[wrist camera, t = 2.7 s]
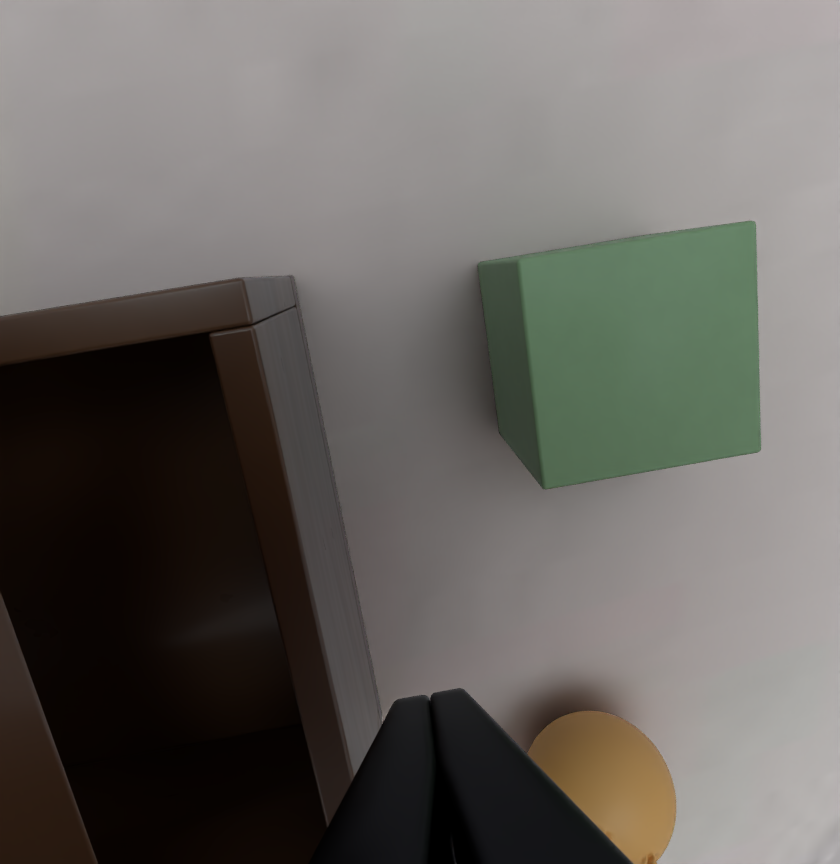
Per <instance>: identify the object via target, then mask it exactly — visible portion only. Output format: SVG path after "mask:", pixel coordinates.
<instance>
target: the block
mask: <svg viewBox="0 0 840 864" xmlns="http://www.w3.org/2000/svg"><path fill="white" fill-rule="evenodd" d="M478 272H479V280H480V288H481V295H482V303H483V311H484V318H485V326H486V334H487V342H488V349H489V357H490V365H491V372H492V380H493V388H494V395H495V403H496V411H497V419H498V426H499V433H500V435H501V436H502V437H503V439H504V440H505V441H506V443H507V444H508V445H509V446H510V448H511V449H512V450H513V451H514V453H515V454H516V455H517V457H518V458H519V459H520V460H521V462H522V463H523V464H524V465H525V467H526V468H527V469H528V470H529V472H530V473H531V474H532V476H533V477H534V478H535V479H536V481H537V482H538V483H539V484H540V486H541V487H542V488H543V489H551V488H557V487H563V486H569V485H574V484H580V483H586V482H591V481H597V480H603V479H609V478H614V477H620V476H626V475H631V474H637V473H643V472H649V471H654V470H660V469H666V468H671V467H677V466H683V465H689V464H694V463H700V462H706V461H711V460H717V459H723V458H729V457H734V456H740V455H746V454H751V453H757V452H759V451H760V450H761V432H760V387H759V342H758V297H757V252H756V224H755V222H753V221H745V222H738V223H730V224H723V225H715V226H708V227H701V228H693V229H686V230H678V231H671V232H664V233H656V234H649V235H643V236H637V237H631V238H625V239H618V240H612V241H606V242H600V243H594V244H588V245H582V246H575V247H569V248H563V249H557V250H551V251H545V252H539V253H533V254H526V255H520V256H514V257H508V258H502V259H496V260H490V261H483V262H480V263H478Z"/></svg>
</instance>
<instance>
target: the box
mask: <svg viewBox="0 0 840 864" xmlns="http://www.w3.org/2000/svg"><path fill="white" fill-rule="evenodd" d="M0 592H1V595H2V598H3V600H4V603H5V606H6V609H7V612H8V614H9V617H10V620H11V623H12V625H13V628H14V631H15V634H16V637H17V639H18V642H19V645H20V648H21V651H22V653H23V656H24V659H25V662H26V664H27V667H28V670H29V673H30V676H31V678H32V681H33V684H34V687H35V690H36V692H37V695H38V698H39V701H40V703H41V706H42V709H43V712H44V715H45V717H46V720H47V723H48V726H49V729H50V731H51V734H52V737H53V740H54V742H55V745H56V748H57V751H58V754H59V756H60V759H61V762H62V765H63V768H64V770H65V773H66V776H67V779H68V781H69V784H70V787H71V790H72V793H73V795H74V798H75V801H76V804H77V807H78V809H79V812H80V815H81V818H82V820H83V823H84V826H85V829H86V832H87V834H88V837H89V840H90V843H91V846H92V848H93V851H94V854H95V857H96V859H97V862H98V864H308V863H309V861H310V859H311V858H312V856H313V854H314V852H315V850H316V848H317V846H318V844H319V842H320V841H321V839H322V837H323V835H324V833H325V831H326V829H327V827H328V825H329V824H330V822H331V820H332V818H333V816H334V814H335V812H336V810H337V808H338V807H339V805H340V803H341V801H342V799H343V797H344V795H345V793H346V791H347V790H348V788H349V786H350V784H351V782H352V780H353V778H354V776H355V774H356V773H357V771H358V769H359V767H360V765H361V763H362V761H363V759H364V758H365V756H366V754H367V752H368V750H369V748H370V746H371V744H372V742H373V741H374V739H375V737H376V735H377V733H378V731H379V729H380V727H381V725H382V712H381V707H380V702H379V697H378V692H377V687H376V682H375V677H374V672H373V667H372V662H371V657H370V652H369V647H368V642H367V637H366V632H365V627H364V622H363V617H362V612H361V607H360V602H359V597H358V592H357V588H356V583H355V578H354V573H353V568H352V563H351V558H350V553H349V548H348V543H347V538H346V533H345V528H344V523H343V518H342V513H341V508H340V503H339V498H338V493H337V488H336V483H335V478H334V473H333V468H332V464H331V459H330V454H329V449H328V444H327V439H326V434H325V429H324V424H323V419H322V414H321V409H320V404H319V399H318V394H317V389H316V384H315V379H314V374H313V369H312V364H311V359H310V354H309V349H308V344H307V340H306V335H305V330H304V325H303V320H302V315H301V310H300V305H299V300H298V295H297V290H296V285H295V280H294V276H292V275H288V276H265V277H242V278H234V279H228V280H222V281H215V282H209V283H203V284H197V285H191V286H184V287H178V288H172V289H166V290H160V291H153V292H147V293H141V294H135V295H129V296H123V297H116V298H110V299H104V300H98V301H92V302H85V303H79V304H73V305H67V306H61V307H55V308H48V309H42V310H36V311H30V312H24V313H17V314H11V315H5V316H0Z"/></svg>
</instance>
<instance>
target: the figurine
mask: <svg viewBox="0 0 840 864" xmlns="http://www.w3.org/2000/svg"><path fill="white" fill-rule="evenodd" d="M528 755H529V757H530V758H531V759H532V760H533V761H534V762H535V763H536V764H537V765H538V766H539V767H540V768H541V769H542V770H543V771H544V772H545V773H546V774H547V775H548V776H549V777H550V778H551V779H552V780H553V781H554V782H555V783H556V784H557V785H558V786H559V787H560V788H561V789H562V790H563V791H564V793H565V794H566V795H567V796H568V797H569V798H570V799H571V800H572V801H573V802H574V803H575V804H576V805H577V806H578V807H579V808H580V809H581V810H582V811H583V812H584V813H585V814H586V815H587V816H588V817H589V818H590V819H591V820H592V821H593V822H594V823H595V824H596V825H597V826H598V827H599V829H600V830H601V831H602V832H603V833H604V834H605V835H606V836H607V837H608V838H609V839H610V840H611V841H612V842H613V843H614V844H615V845H616V846H617V847H618V848H619V849H620V850H621V851H622V852H623V853H624V854H625V855H626V856H627V857H628V858H629V859H630V860H631V861H632V862H633V863H634V864H657V863H656V861H657V860H658V859H659V858H660V857H661V855H662V854H663V853H664V851H665V849H666V848H667V846H668V844H669V841H670V839H671V836H672V833H673V830H674V826H675V820H676V795H675V789H674V785H673V781H672V777H671V775H670V772H669V769H668V767H667V765H666V763H665V761H664V759H663V757H662V756H661V754H660V752H659V751H658V749H657V748H656V747H655V745H654V744H653V743H652V742H651V741H650V739H649V738H648V737H647V736H646V735H645V734H644V733H642V732H641V731H640V730H639V729H638V728H636V727H635V726H634V725H632V724H631V723H629V722H627V721H625V720H624V719H622V718H619V717H617V716H615V715H612V714H608V713H604V712H599V711H579V712H574V713H570V714H567V715H564V716H562V717H560V718H558V719H556V720H554V721H553V722H551V723H550V724H549V725H547V726H546V727H545V728H544V729H543V730H542V731H541V732H540V733H539V735H538V736H537V737H536V739H535V740H534V742H533V743H532V745H531V747H530V749H529V751H528Z"/></svg>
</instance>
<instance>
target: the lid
mask: <svg viewBox="0 0 840 864" xmlns="http://www.w3.org/2000/svg"><path fill="white" fill-rule="evenodd" d="M0 864H98V862H97V859H96V857H95V854H94V851H93V848H92V846H91V843H90V840H89V837H88V834H87V832H86V829H85V826H84V823H83V820H82V818H81V815H80V812H79V809H78V807H77V804H76V801H75V798H74V795H73V793H72V790H71V787H70V784H69V781H68V779H67V776H66V773H65V770H64V768H63V765H62V762H61V759H60V756H59V754H58V751H57V748H56V745H55V742H54V740H53V737H52V734H51V731H50V729H49V726H48V723H47V720H46V717H45V715H44V712H43V709H42V706H41V703H40V701H39V698H38V695H37V692H36V690H35V687H34V684H33V681H32V678H31V676H30V673H29V670H28V667H27V664H26V662H25V659H24V656H23V653H22V651H21V648H20V645H19V642H18V639H17V637H16V634H15V631H14V628H13V625H12V623H11V620H10V617H9V614H8V612H7V609H6V606H5V603H4V600H3V598H2V595H1V592H0Z"/></svg>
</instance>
